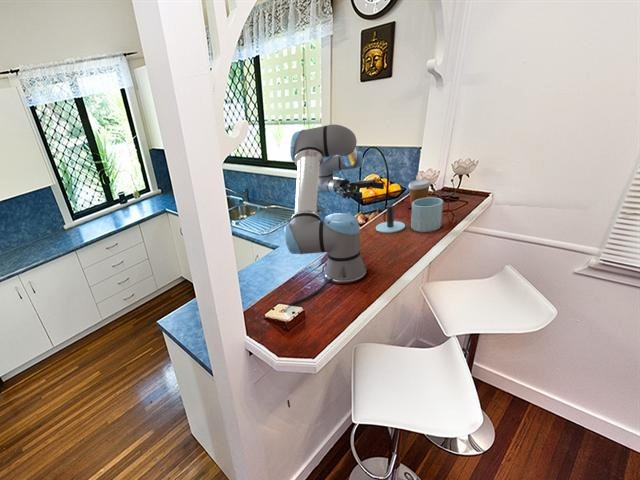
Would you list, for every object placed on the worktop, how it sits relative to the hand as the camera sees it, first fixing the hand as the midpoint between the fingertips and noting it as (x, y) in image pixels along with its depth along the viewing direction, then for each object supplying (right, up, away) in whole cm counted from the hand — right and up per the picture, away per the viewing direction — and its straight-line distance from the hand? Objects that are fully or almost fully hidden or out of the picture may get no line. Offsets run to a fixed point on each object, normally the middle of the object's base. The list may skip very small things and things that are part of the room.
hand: (372, 190), depth 158 cm
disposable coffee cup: (+29, -3, +15) cm, 33 cm away
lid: (+8, -17, 0) cm, 19 cm away
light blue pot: (+21, -18, -6) cm, 28 cm away
